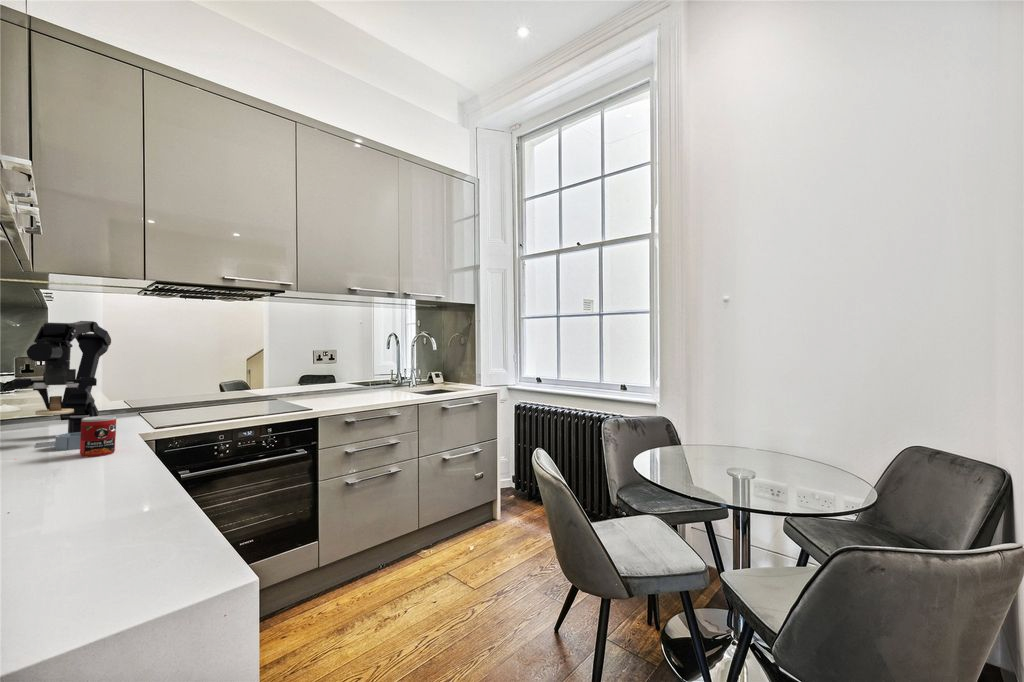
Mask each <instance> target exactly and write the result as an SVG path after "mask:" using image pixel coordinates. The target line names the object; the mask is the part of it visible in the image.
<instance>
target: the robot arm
mask: <svg viewBox="0 0 1024 682" xmlns="http://www.w3.org/2000/svg"><path fill="white" fill-rule="evenodd" d="M73 340H76V341H77V343H78V347H79V350H80V351H81V352H82V355H81V358H80V361H79V362H80V363H79V366H78V370H77V369H76V368H70V367H71V353H72V352H71V349H72V348H73V344H72V342H73ZM33 342H34V344H32V345H30V346H29V347H28V349H27V350H26V355H27V357H28V358H29V359H30V360H31V361H34V362H44V365H43V366H44V369H43V376H42V377H43V378H42V379H34V380H33V378H32V377H29V378H28V377H25V378H24V377H23V378H15V379H13V380H12V381H11V389H26V388H29V387H33V388H32V391H37V392H38V394H39V395H40V396H41V398H42V400H43V403H44V405H45V407H46V410H49V392H48V387H47V386H65V388H64V393H63V396H62V405H61V409H74V413H69V414H59V418H60V421H68V422H67V433H76V432H81V421H82V419H83V418H87V417H95V416H100V415H99V410H98V408H97V405H96V404H95V402H96V401H95V398H94V396H93V395H92V388H93V387H95V386H96V387H97V382H98V381H97V378H96V372H97V368H98V365H99V361H100V358H101V356H103V355H104V354H106V353H107V352H108V349H109V347H110V345H111V344H112V338H111V336H110V333H109V332H108V331H107V330H106V329H104V328H102V327H101V326H100V325H99V324H98V322H96V321H94V320H92V321H91V320H79V321H75V322H45V323H44V324H43V325H42V326H41V327H40V329H39V331H38V333H37V335H36V336H35V338H34V340H33Z"/></svg>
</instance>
